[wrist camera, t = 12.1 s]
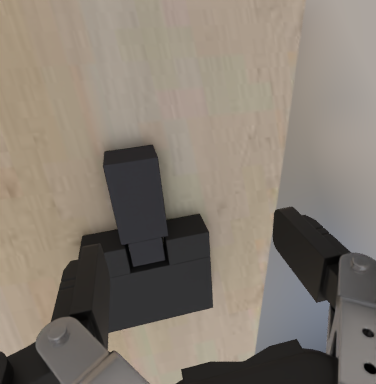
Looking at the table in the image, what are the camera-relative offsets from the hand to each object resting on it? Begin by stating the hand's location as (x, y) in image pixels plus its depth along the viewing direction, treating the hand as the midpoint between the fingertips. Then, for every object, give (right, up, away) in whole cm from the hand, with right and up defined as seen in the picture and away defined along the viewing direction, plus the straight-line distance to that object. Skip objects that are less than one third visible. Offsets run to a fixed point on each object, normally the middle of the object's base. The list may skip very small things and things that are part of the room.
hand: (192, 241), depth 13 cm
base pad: (-5, -7, +24) cm, 25 cm away
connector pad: (-6, +1, +20) cm, 21 cm away
